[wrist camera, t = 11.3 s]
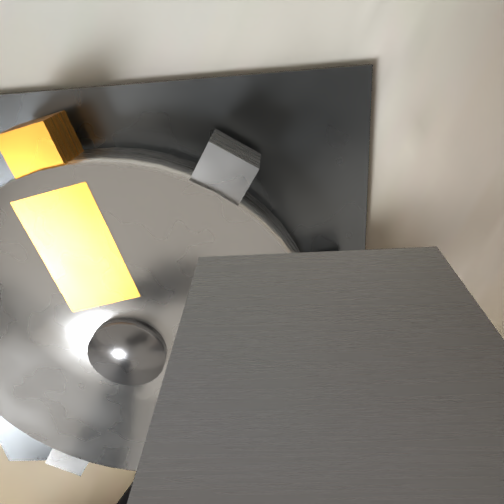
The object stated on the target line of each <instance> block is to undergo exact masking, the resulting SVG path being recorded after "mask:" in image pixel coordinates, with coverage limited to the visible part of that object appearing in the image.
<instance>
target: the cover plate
mask: <svg viewBox="0 0 504 504" xmlns="http://www.w3.org/2000/svg"><path fill="white" fill-rule="evenodd" d="M372 67H373V65H372V64H368V65H355V66H343V67H330V68H318V69H306V70H293V71H281V72H269V73H256V74H244V75H231V76H219V77H207V78H194V79H182V80H170V81H157V82H145V83H132V84H120V85H108V86H95V87H83V88H71V89H58V90H46V91H33V92H21V93H9V94H0V133H1V132H3V131H6V130H8V129H10V128H12V127H14V126H16V125H19V124H22V123H25V122H28V121H31V120H35V119H38V118H41V117H44V116H47V115H51V114H54V113H57V112H60V111H63V110H65V111H66V113H67V115H68V117H69V120H70V122H71V124H72V126H73V128H74V130H75V133H76V135H77V137H78V139H79V141H80V143H81V145H82V148H83V150H86V149H96V148H109V147H120V148H138V149H146V150H151V151H157V152H162V153H167V154H171V155H174V156H177V157H181V158H184V159H187V160H190V161H193V162H196V163H198V161H199V159H200V157H201V155H202V153H203V151H204V149H205V147H206V145H207V143H208V141H209V139H210V137H211V136H212V134H213V132H214V130H215V129H217V130H219V131H221V132H222V133H224V134H226V135H228V136H230V137H231V138H233V139H235V140H237V141H239V142H240V143H242V144H244V145H246V146H248V147H249V148H251V149H253V150H255V151H257V152H258V153H260V154H261V157H260V169H259V171H258V172H257V174H256V176H255V178H254V179H253V181H252V183H251V184H250V186H249V188H248V190H247V191H248V192H249V193H250V194H252V195H253V196H254V197H255V198H257V199H258V200H259V201H260V202H261V203H263V204H264V205H265V206H266V207H267V208H268V209H269V210H270V212H271V213H272V214H273V215H274V216H275V217H276V218H277V219H278V220H279V221H280V222H281V223H282V225H283V226H284V228H285V229H286V230H287V232H288V233H289V234H290V236H291V237H292V239H293V240H294V241H295V243H296V245H297V247H298V249H299V251H300V253H302V252H326V251H349V250H365V237H366V213H367V188H368V164H369V140H370V116H371V91H372ZM13 178H15V177H14V175H13V173H12V171H11V170H10V168H9V166H8V164H7V162H6V160H5V159H4V157H3V155H2V153H1V151H0V187H1V186H3V185H4V184H6V183H7V182H9V181H10V180H12V179H13ZM0 444H1V446H2V448H3V450H4V452H5V454H6V456H7V458H8V460H9V461H29V460H47V458H48V456H49V454H50V452H51V450H52V448H51V447H49V446H47V445H45V444H43V443H41V442H39V441H37V440H35V439H33V438H32V437H30V436H28V435H27V434H25V433H24V432H22V431H21V430H19V429H17V428H16V427H14V426H13V425H12V424H10V423H9V422H8V421H7V420H5V419H4V418H3V417H1V416H0Z"/></svg>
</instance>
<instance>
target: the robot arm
mask: <svg viewBox="0 0 504 504" xmlns="http://www.w3.org/2000/svg"><path fill="white" fill-rule="evenodd" d="M132 484H133V483H132ZM132 484H131V485H130V487H129V488H128V489H127V491H126V492H125V493H124V495H123V496H122V497H121V499H120V500H119V501H118V503H117V504H127V501H128V498H129V495H130V491H131V488H132Z"/></svg>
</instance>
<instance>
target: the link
mask: <svg viewBox="0 0 504 504" xmlns="http://www.w3.org/2000/svg"><path fill="white" fill-rule="evenodd" d="M127 504H504V339H503V338H502V337H501V335H500V334H499V332H498V331H497V330H496V328H495V327H494V326H493V324H492V323H491V321H490V320H489V319H488V317H487V316H486V314H485V313H484V312H483V310H482V309H481V308H480V306H479V305H478V303H477V302H476V301H475V299H474V298H473V296H472V295H471V294H470V292H469V291H468V290H467V288H466V287H465V285H464V284H463V283H462V281H461V280H460V278H459V277H458V276H457V274H456V273H455V272H454V270H453V269H452V267H451V266H450V265H449V263H448V262H447V260H446V259H445V258H444V256H443V255H442V254H441V252H440V251H439V249H438V248H437V247H419V248H396V249H373V250H349V251H326V252H302V253H279V254H255V255H232V256H208V257H199V258H198V262H197V265H196V268H195V272H194V275H193V279H192V282H191V286H190V289H189V292H188V296H187V299H186V303H185V306H184V310H183V313H182V316H181V320H180V323H179V327H178V330H177V334H176V337H175V340H174V344H173V347H172V351H171V354H170V357H169V361H168V364H167V368H166V371H165V375H164V378H163V381H162V385H161V388H160V392H159V395H158V399H157V402H156V405H155V409H154V412H153V416H152V419H151V423H150V426H149V429H148V433H147V436H146V440H145V443H144V447H143V450H142V453H141V457H140V460H139V464H138V467H137V471H136V474H135V477H134V481H133V484H132V488H131V491H130V495H129V498H128V501H127Z"/></svg>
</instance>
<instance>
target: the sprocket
mask: <svg viewBox="0 0 504 504" xmlns="http://www.w3.org/2000/svg"><path fill="white" fill-rule="evenodd" d="M0 151H1V153H2V155H3V157H4V159H5V160H6V162H7V164H8V166H9V168H10V170H11V171H12V173H13V175H14V177H15V178H13V179H12V180H10V181H9V182H7V183H6V184H4V185H3V186H1V187H0V416H1V417H3V418H4V419H5V420H7V421H8V422H9V423H10V424H12V425H13V426H14V427H16V428H17V429H19V430H21V431H22V432H24V433H25V434H27V435H28V436H30V437H32V438H33V439H35V440H37V441H39V442H41V443H43V444H45V445H47V446H49V447H51V448H52V450H51V452H50V454H49V456H48V458H47V460H46V462H45V463H46V464H49V465H51V466H54V467H57V468H60V469H62V470H65V471H68V472H71V473H73V474H76V475H79V476H81V475H82V473H83V471H84V470H85V468H86V466H87V464H88V463H89V462H91V463H95V464H99V465H104V466H108V467H112V468H119V469H126V470H132V471H137V467H138V464H139V460H140V457H141V453H142V450H143V447H144V443H145V440H146V436H147V433H148V429H149V426H150V423H151V419H152V416H153V412H154V409H155V405H156V402H157V399H158V395H159V392H160V388H161V385H162V381H163V378H164V375H165V371H166V368H167V364H168V361H169V357H170V354H171V351H172V347H173V344H174V340H175V337H176V334H177V330H178V327H179V323H180V320H181V316H182V313H183V310H184V306H185V303H186V299H187V296H188V292H189V289H190V286H191V282H192V279H193V275H194V272H195V268H196V265H197V262H198V258H199V257H208V256H232V255H255V254H279V253H300V251H299V249H298V247H297V245H296V243H295V241H294V240H293V239H292V237H291V236H290V234H289V233H288V232H287V230H286V229H285V228H284V226H283V225H282V223H281V222H280V221H279V220H278V219H277V218H276V217H275V216H274V215H273V214H272V213H271V212H270V210H269V209H268V208H267V207H266V206H265V205H264V204H263V203H261V202H260V201H259V200H258V199H257V198H255V197H254V196H253V195H252V194H250V193H249V192H248V191H247V190H248V188H249V186H250V184H251V183H252V181H253V179H254V178H255V176H256V174H257V172H258V171H259V169H260V157H261V154H260V153H258V152H257V151H255V150H253V149H251V148H249V147H248V146H246V145H244V144H242V143H240V142H239V141H237V140H235V139H233V138H231V137H230V136H228V135H226V134H224V133H222V132H221V131H219V130H217V129H215V130H214V132H213V134H212V136H211V137H210V139H209V141H208V143H207V145H206V147H205V149H204V151H203V153H202V155H201V157H200V159H199V161H198V163H196V162H193V161H190V160H187V159H184V158H181V157H177V156H174V155H171V154H167V153H162V152H157V151H151V150H146V149H138V148H120V147H109V148H96V149H86V150H83V148H82V145H81V143H80V141H79V139H78V137H77V135H76V133H75V130H74V128H73V126H72V124H71V122H70V120H69V117H68V115H67V113H66V111H65V110H63V111H60V112H57V113H54V114H51V115H47V116H44V117H41V118H38V119H35V120H31V121H28V122H25V123H22V124H19V125H16V126H14V127H12V128H10V129H8V130H6V131H3V132H1V133H0Z"/></svg>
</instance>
